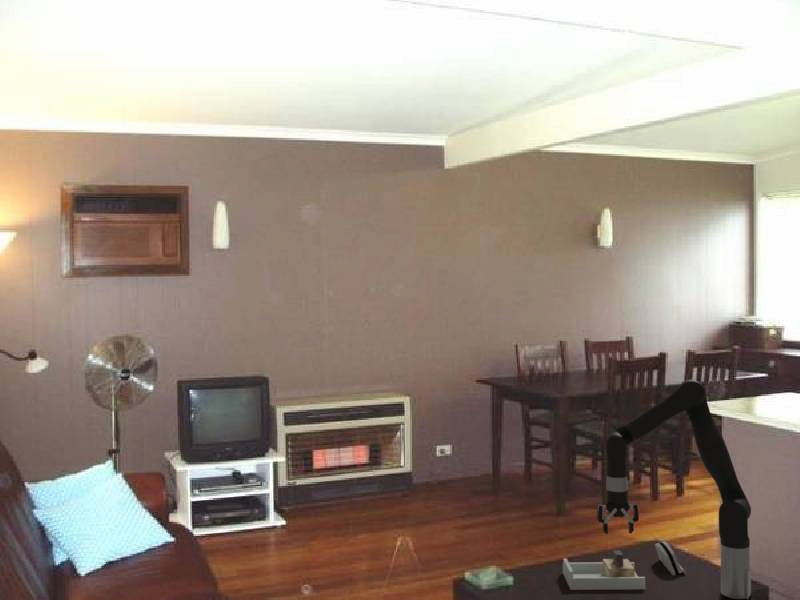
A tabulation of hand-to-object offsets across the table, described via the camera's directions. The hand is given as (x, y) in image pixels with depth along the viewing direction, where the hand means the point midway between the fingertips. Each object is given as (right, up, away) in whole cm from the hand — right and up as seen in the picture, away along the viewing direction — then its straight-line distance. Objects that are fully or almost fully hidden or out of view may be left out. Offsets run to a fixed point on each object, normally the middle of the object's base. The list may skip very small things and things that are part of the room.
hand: (618, 533), depth 298 cm
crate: (0, -16, +1) cm, 16 cm away
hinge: (+23, -17, +14) cm, 32 cm away
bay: (-5, -18, +1) cm, 18 cm away
